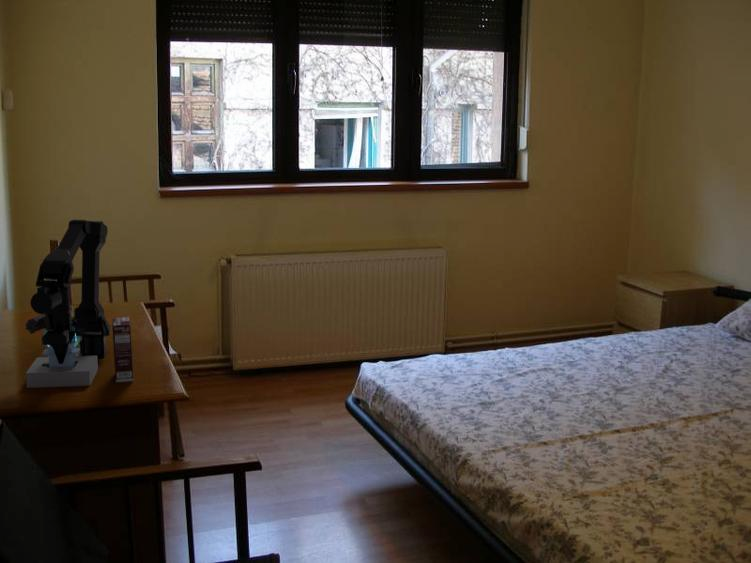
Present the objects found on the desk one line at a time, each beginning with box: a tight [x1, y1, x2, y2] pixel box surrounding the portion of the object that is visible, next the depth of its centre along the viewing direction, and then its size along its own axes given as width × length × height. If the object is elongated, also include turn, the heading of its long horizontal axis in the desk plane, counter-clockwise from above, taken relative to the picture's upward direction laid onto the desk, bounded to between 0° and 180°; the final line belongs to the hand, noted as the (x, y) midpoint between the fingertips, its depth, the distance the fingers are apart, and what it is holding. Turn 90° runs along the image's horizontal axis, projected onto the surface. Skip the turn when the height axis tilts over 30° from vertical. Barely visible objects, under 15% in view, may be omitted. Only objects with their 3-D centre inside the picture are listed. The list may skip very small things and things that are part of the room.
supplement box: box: [111, 316, 134, 383], centre depth 242 cm, size 9×5×16 cm, turn 16°
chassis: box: [25, 355, 99, 389], centre depth 242 cm, size 16×14×4 cm
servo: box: [42, 342, 80, 368], centre depth 241 cm, size 9×4×6 cm, turn 99°
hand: (62, 361), depth 241 cm, fingers closed on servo, 4 cm apart
